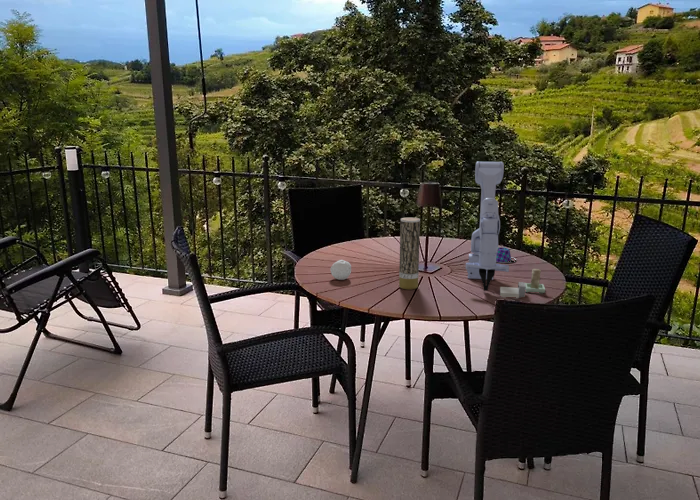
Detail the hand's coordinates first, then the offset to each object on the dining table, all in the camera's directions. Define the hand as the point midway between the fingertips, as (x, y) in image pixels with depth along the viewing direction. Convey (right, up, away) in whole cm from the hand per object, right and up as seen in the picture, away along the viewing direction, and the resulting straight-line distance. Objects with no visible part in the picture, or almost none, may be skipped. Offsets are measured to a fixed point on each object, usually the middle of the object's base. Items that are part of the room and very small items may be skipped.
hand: (485, 290), depth 193 cm
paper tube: (-26, 0, +6) cm, 27 cm away
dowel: (+18, 0, +3) cm, 18 cm away
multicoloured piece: (+18, +9, +44) cm, 49 cm away
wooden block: (+12, -2, -2) cm, 12 cm away
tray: (+18, 0, +3) cm, 18 cm away
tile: (+8, -2, -1) cm, 8 cm away
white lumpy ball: (-51, +3, +16) cm, 53 cm away
